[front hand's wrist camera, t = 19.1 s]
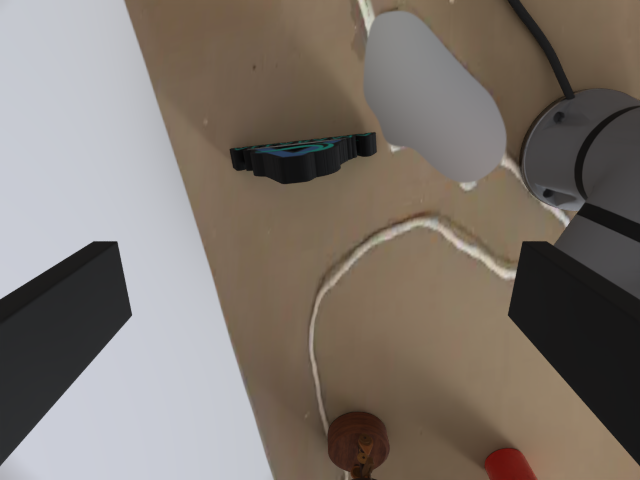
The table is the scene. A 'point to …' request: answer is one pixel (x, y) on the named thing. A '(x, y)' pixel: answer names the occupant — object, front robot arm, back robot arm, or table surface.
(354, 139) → the decorative sign
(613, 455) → the table surface
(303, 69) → the table surface
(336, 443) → the brown wooden figurine
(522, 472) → the red cylinder
